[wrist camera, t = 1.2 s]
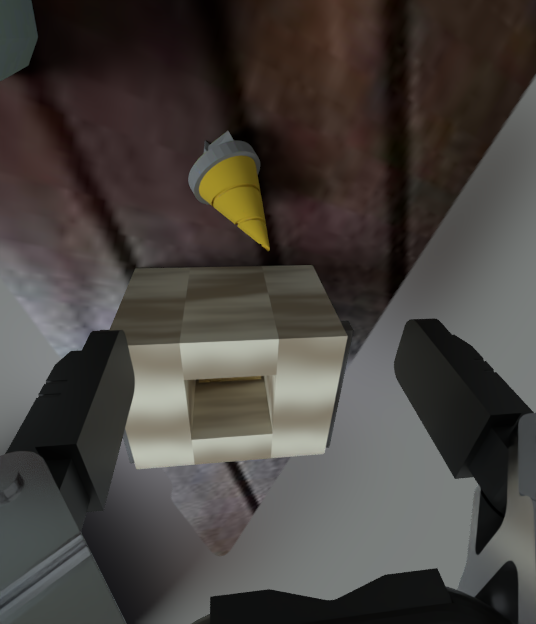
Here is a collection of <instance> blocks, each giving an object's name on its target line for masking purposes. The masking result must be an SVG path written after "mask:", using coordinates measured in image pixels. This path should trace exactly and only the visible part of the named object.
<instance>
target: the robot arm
mask: <svg viewBox="0 0 536 624" xmlns="http://www.w3.org/2000/svg"><path fill="white" fill-rule="evenodd" d="M394 370H395V375H396V378H397V380H398V382H399V384H400V385H401V387H402V389H403V391H404V392H405V394H406V396H407V397H408V399H409V401H410V403H411V404H412V406H413V408H414V409H415V411H416V413H417V415H418V416H419V418H420V420H421V421H422V423H423V425H424V426H425V428H426V430H427V432H428V433H429V435H430V437H431V439H432V440H433V442H434V443H435V445H436V447H437V449H438V450H439V452H440V454H441V455H442V457H443V459H444V461H445V462H446V464H447V466H448V468H449V469H450V471H451V473H452V474H453V476H454V478H455V479H458V478H468V477H474V478H475V480H476V481H477V483H478V486H477V487H476V489H475V493H474V499H473V509H472V518H471V527H470V536H469V545H468V555H467V561H466V566H465V569H464V572H463V575H462V577H461V580H460V582H459V586H458V589H457V590H455V589H452V588H449V587H445V585H444V582H443V580H442V578H441V576H440V573H439V571H438V569H437V568H436V569H428V570H420V571H412V572H404V573H396V574H388V575H384V576H382V577H380V578H378V579H376V580H374V581H372V582H370V583H368V584H366V585H364V586H362V587H360V588H358V589H356V590H354V591H352V592H350V593H348V594H346V595H344V596H342V597H340V598H338V599H335V600H322V599H317V598H312V597H307V596H301V595H296V594H291V593H286V592H280V591H275V590H261V591H253V592H245V593H237V594H230V595H221V596H213V597H211V598H210V614H209V615H207V616H205V617H202V618H200V619H198V620H197V621H195V622H194V623H192V624H536V413H534V412H533V411H532V410H531V409H530V408H529V407H528V406H527V405H526V404H525V403H524V402H523V401H522V400H521V398H520V397H519V396H518V395H517V394H516V393H515V392H514V391H513V390H512V389H511V388H510V387H509V385H508V384H507V383H506V382H505V381H504V380H503V379H502V378H501V377H500V376H499V375H498V374H497V373H496V372H494V371H493V368H492V367H491V366H490V365H489V364H488V363H487V362H486V361H484V360H483V358H482V356H480V354H479V353H478V352H477V351H476V350H475V349H474V348H473V347H472V346H471V345H470V344H468V343H467V342H465V341H463V340H462V339H460V338H459V337H457V336H455V335H452V334H451V333H450V332H449V331H448V330H447V329H446V328H445V326H444V325H443V324H442V323H441V322H440V321H439V320H437V319H413V320H409V321H408V322H407V323H406V325H405V327H404V331H403V334H402V337H401V341H400V344H399V347H398V350H397V354H396V358H395V361H394ZM134 389H135V375H134V370H133V365H132V361H131V357H130V352H129V348H128V344H127V339H126V335H125V333H124V331H123V330H107V331H92V332H91V333H90V335H89V337H88V339H87V341H86V343H85V345H84V347H83V349H82V351H70V352H69V353H68V354H67V355H66V356H65V357H64V358H62V359H61V360H60V361H59V362H58V363H57V364H56V365H55V366H54V368H53V370H52V371H51V373H50V375H49V377H48V379H47V380H46V384H44V386H43V387H42V389H41V391H40V393H39V397H38V398H36V400H35V402H34V404H33V406H32V407H31V409H30V411H29V413H28V415H27V416H26V418H25V420H24V422H23V423H22V425H21V427H20V429H19V431H18V432H17V434H16V436H15V438H14V440H13V442H12V443H11V445H10V447H9V448H8V450H7V452H6V453H5V454H4V455H1V456H0V624H126V622H125V620H124V618H123V616H122V614H121V612H120V610H119V608H118V606H117V604H116V602H115V600H114V598H113V596H112V594H111V592H110V590H109V588H108V586H107V584H106V582H105V580H104V578H103V576H102V574H101V572H100V570H99V568H98V566H97V564H96V562H95V560H94V558H93V556H92V554H91V552H90V550H89V548H88V546H87V544H86V542H85V540H84V538H83V536H82V534H81V529H82V526H83V523H84V519H85V516H86V513H87V512H92V511H103V510H104V507H105V503H106V499H107V495H108V491H109V488H110V484H111V480H112V476H113V472H114V468H115V465H116V461H117V457H118V453H119V449H120V446H121V441H122V438H123V434H124V430H125V426H126V422H127V419H128V415H129V411H130V407H131V403H132V399H133V395H134Z"/></svg>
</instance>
